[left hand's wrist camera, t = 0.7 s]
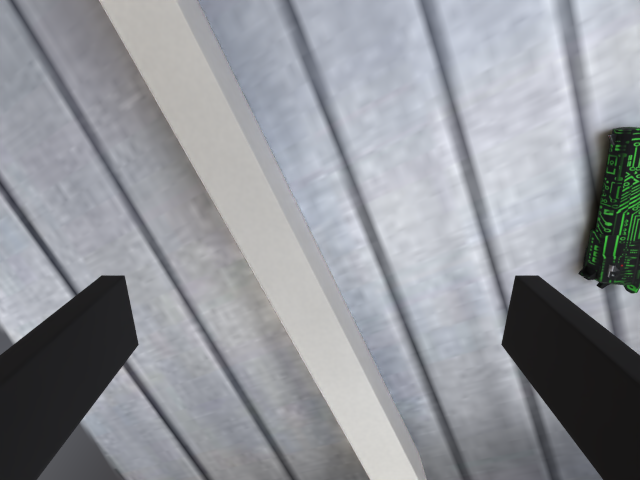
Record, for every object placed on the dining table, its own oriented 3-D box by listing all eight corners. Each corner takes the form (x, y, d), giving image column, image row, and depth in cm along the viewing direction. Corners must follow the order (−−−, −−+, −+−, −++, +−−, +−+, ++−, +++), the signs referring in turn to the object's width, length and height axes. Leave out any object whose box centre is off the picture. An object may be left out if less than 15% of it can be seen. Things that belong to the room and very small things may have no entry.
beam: (65, -134, 28) (-29, -224, 20) (116, -167, 27) (39, -272, 19) (385, 463, 48) (398, 529, 41) (418, 452, 47) (437, 517, 40)
